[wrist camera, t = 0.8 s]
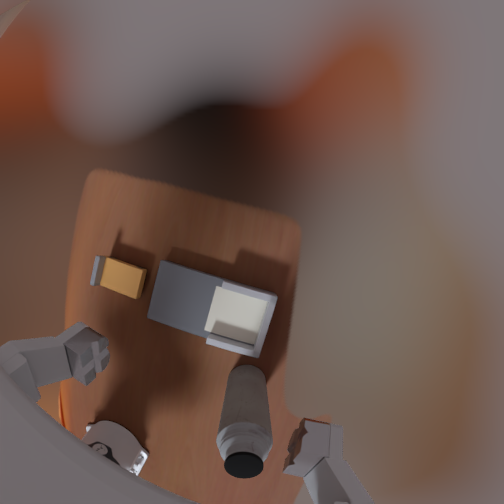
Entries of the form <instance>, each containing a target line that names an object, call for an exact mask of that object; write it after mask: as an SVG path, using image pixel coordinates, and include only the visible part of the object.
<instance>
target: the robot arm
mask: <svg viewBox="0 0 504 504" xmlns="http://www.w3.org/2000/svg"><path fill="white" fill-rule="evenodd" d="M108 345H109V343H108V339H107V338H106V337H104V336H103V335H101V334H99V333H98V332H96V331H95V330H93V329H92V328H90V327H89V326H87V325H85V324H84V323H82V322H77V323H76V324H74V325H73V326H71V327H70V328H68V329H67V330H65V331H64V332H63V333H61V334H60V335H58V336H57V337H55V338H54V337H44V338H34V339H24V340H14V341H9V342H7V343H6V344H4V345H3V346H1V347H0V504H200V503H197V502H194V501H192V500H189V499H186V498H184V497H182V496H179V495H177V494H174V493H172V492H170V491H168V490H165V489H163V488H161V487H159V486H157V485H155V484H153V483H151V482H149V481H147V480H145V479H143V478H141V477H139V476H138V475H139V473H140V471H141V469H142V467H143V465H144V464H145V462H146V460H147V458H148V456H149V453H148V452H147V451H146V450H145V449H144V448H143V447H141V445H140V444H139V442H138V441H137V439H136V438H135V437H134V435H133V434H132V433H131V432H129V431H128V430H127V429H126V428H124V427H123V426H121V425H119V424H117V423H114V422H111V421H99V422H98V423H96V424H90V425H87V427H86V430H87V433H86V435H85V436H84V437H83V439H82V440H80V439H79V438H77V437H76V436H75V435H73V434H72V433H71V432H69V431H68V430H67V429H66V428H64V427H63V426H62V425H61V424H59V423H58V422H57V421H56V420H55V419H53V418H52V417H51V416H50V415H49V414H48V413H46V412H45V411H44V410H43V409H42V408H41V407H40V406H38V405H37V403H36V402H37V401H38V400H39V399H40V397H41V396H40V393H39V391H38V389H37V387H40V386H44V385H47V384H51V383H54V382H58V381H62V380H65V379H69V378H72V377H74V378H75V379H77V380H78V381H80V382H81V383H83V384H84V385H86V386H87V385H88V384H89V383H91V382H92V381H93V380H94V379H95V378H96V373H97V372H102V371H103V370H104V369H105V368H106V367H107V365H108V363H109V359H110V353H109V351H108V349H107V348H106V347H107V346H108ZM287 450H288V452H289V455H288V456H287V458H286V459H285V463H284V468H283V472H282V473H286V474H290V475H295V476H299V477H304V478H303V479H304V481H305V484H306V486H307V488H308V491H309V493H310V495H311V497H312V500H313V502H314V504H374V501H373V500H372V498H371V497H370V495H369V494H368V493H367V491H366V490H365V488H364V487H363V485H362V484H361V482H360V481H359V479H358V478H357V476H356V475H355V473H354V472H353V470H352V469H351V468H350V466H349V464H348V463H347V461H346V460H342V456H343V427H342V426H341V425H335V424H331V423H327V422H322V421H317V420H313V419H308V418H303V419H302V420H301V422H300V425H299V428H297V429H295V431H294V432H293V434H292V436H291V439H290V441H289V445H288V449H287Z"/></svg>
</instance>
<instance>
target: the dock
mask: <svg viewBox="0 0 504 504" xmlns="http://www.w3.org/2000/svg"><path fill="white" fill-rule="evenodd" d="M277 298H278V297H277V295H276V294H275V293H273V292H270V291H266V290H263V289H259V288H256V287H252V286H249V285H245V284H242V283H239V282H235V281H232V280H229V279H225V278H222V277H219V276H215V275H212V274H209V273H205V272H202V271H199V270H196V269H193V268H189V267H186V266H183V265H180V264H177V263H174V262H170V261H167V260H161V262H160V266H159V269H158V273H157V277H156V281H155V285H154V289H153V293H152V297H151V302H150V306H149V310H148V315H147V318H149V319H152V320H154V321H157V322H160V323H163V324H165V325H168V326H171V327H174V328H177V329H180V330H183V331H186V332H189V333H192V334H195V335H198V336H201V337H204V338H207V341H206V344H209V345H213V346H216V347H219V348H222V349H226V350H229V351H233V352H236V353H240V354H244V355H247V356H251V357H255V358H259V355H260V352H261V349H262V346H263V343H264V340H265V337H266V334H267V330H268V327H269V324H270V321H271V318H272V315H273V311H274V308H275V305H276V302H277Z"/></svg>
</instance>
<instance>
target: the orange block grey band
mask: <svg viewBox="0 0 504 504" xmlns="http://www.w3.org/2000/svg"><path fill="white" fill-rule="evenodd" d="M146 273H147V270H146V269H145V268H143V267H139V266H135V265H132V264H129V263H126V262H123V261H121V260H118V259H117V258H114V257H110V256H96V258H95V263H94V267H93V272H92V277H91V282H90V284H91V285H93V286H96V285H101V286H104V287H106V288H109V289H111V290H114V291H116V292H119V293H121V294H124V295H126V296H129V297H131V298H134V299H138V298H141V294H142V289H143V285H144V281H145V277H146Z"/></svg>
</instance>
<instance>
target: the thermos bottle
mask: <svg viewBox="0 0 504 504" xmlns="http://www.w3.org/2000/svg"><path fill="white" fill-rule="evenodd" d="M216 441H217V446H218V449H219V451H220V454H221V457H222V458H223V460H225V463H224V468H225V470H226V471H227V472H228V473H229V474H230V475H232V476H234V477H237V478H251V477H255V476H257V475H258V474H260V473H261V472H262V470H263V462H264V461H265V460H266V458H267V457H268V452H269V451H270V450H271V448H272V445H273V438H272V430H271V421H270V413H269V404H268V396H267V387H266V379H265V376H264V374H263V372H262V371H261V370H260V369H259V368H257V367H255V366H252V365H241V366H238V367H236V368H235V369H233V370H232V371H231V373H230V374H229V377H228V382H227V387H226V392H225V398H224V403H223V408H222V413H221V419H220V424H219V429H218V434H217V440H216Z"/></svg>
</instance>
